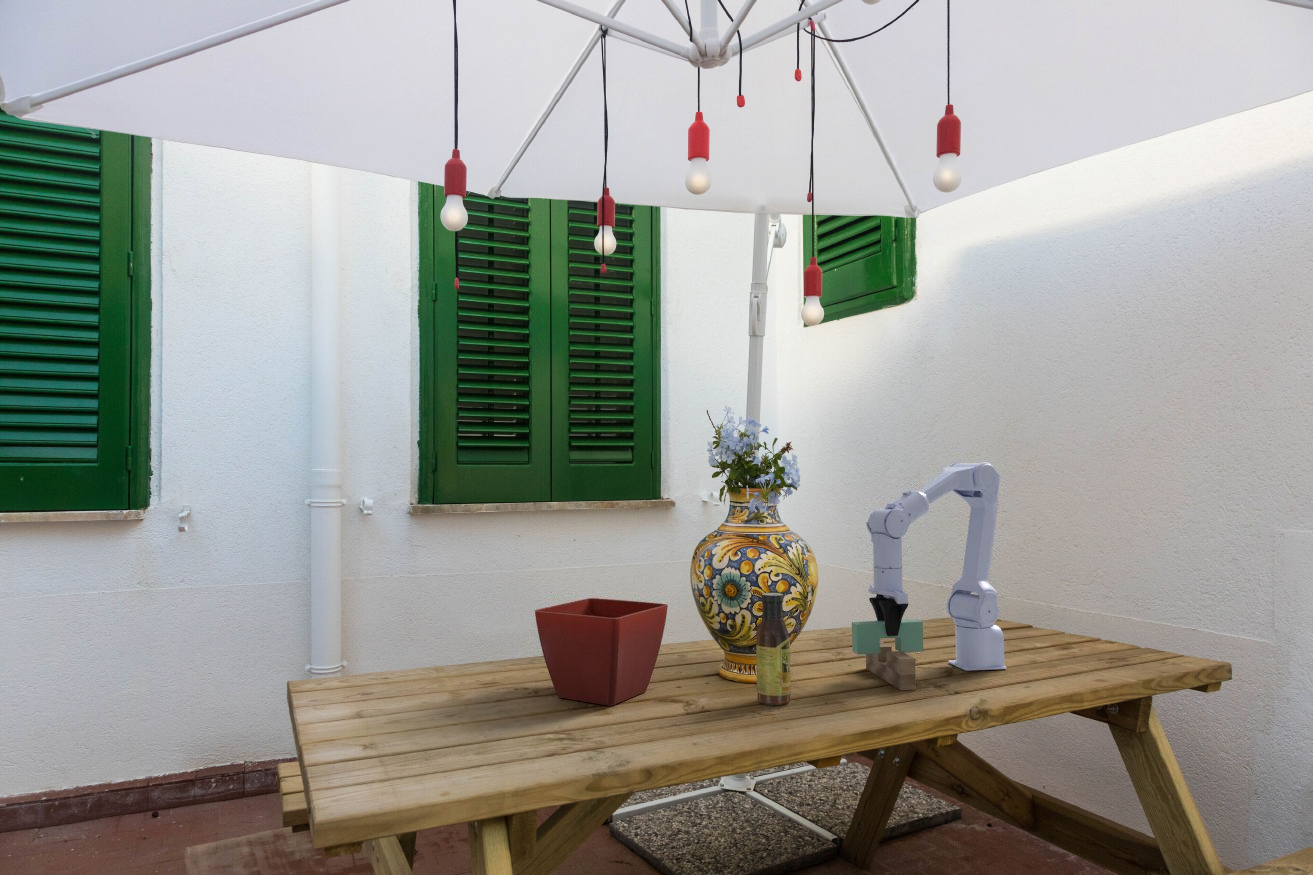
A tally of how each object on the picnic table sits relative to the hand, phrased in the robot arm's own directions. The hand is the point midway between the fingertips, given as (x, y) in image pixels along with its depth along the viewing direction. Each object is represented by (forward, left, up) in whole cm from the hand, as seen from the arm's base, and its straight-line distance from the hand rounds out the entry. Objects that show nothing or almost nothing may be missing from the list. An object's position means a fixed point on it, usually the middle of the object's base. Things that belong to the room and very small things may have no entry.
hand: (888, 633), depth 173 cm
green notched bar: (0, 0, -3) cm, 4 cm away
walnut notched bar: (0, 0, -9) cm, 9 cm away
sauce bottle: (+28, +13, -9) cm, 32 cm away
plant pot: (+59, +3, -9) cm, 60 cm away
